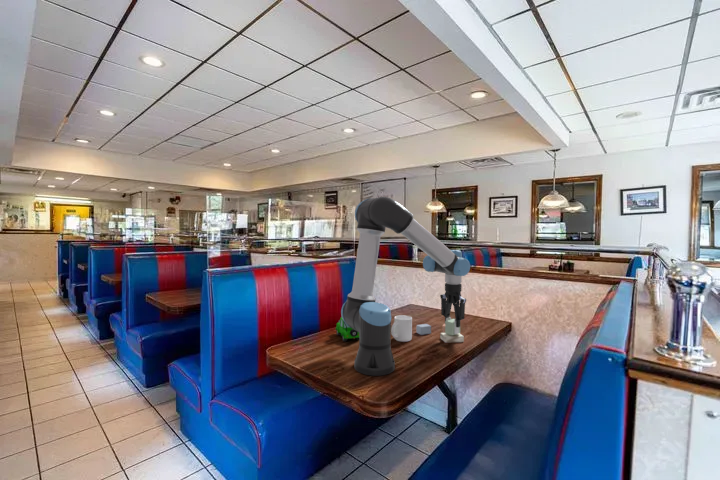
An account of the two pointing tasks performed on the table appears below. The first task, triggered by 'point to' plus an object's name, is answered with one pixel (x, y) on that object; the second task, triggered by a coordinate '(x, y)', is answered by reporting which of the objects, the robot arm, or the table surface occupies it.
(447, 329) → the green brick
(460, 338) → the cream brick
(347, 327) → the toy car
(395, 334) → the mug
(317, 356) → the table surface
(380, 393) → the table surface
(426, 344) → the table surface
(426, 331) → the slate brick
